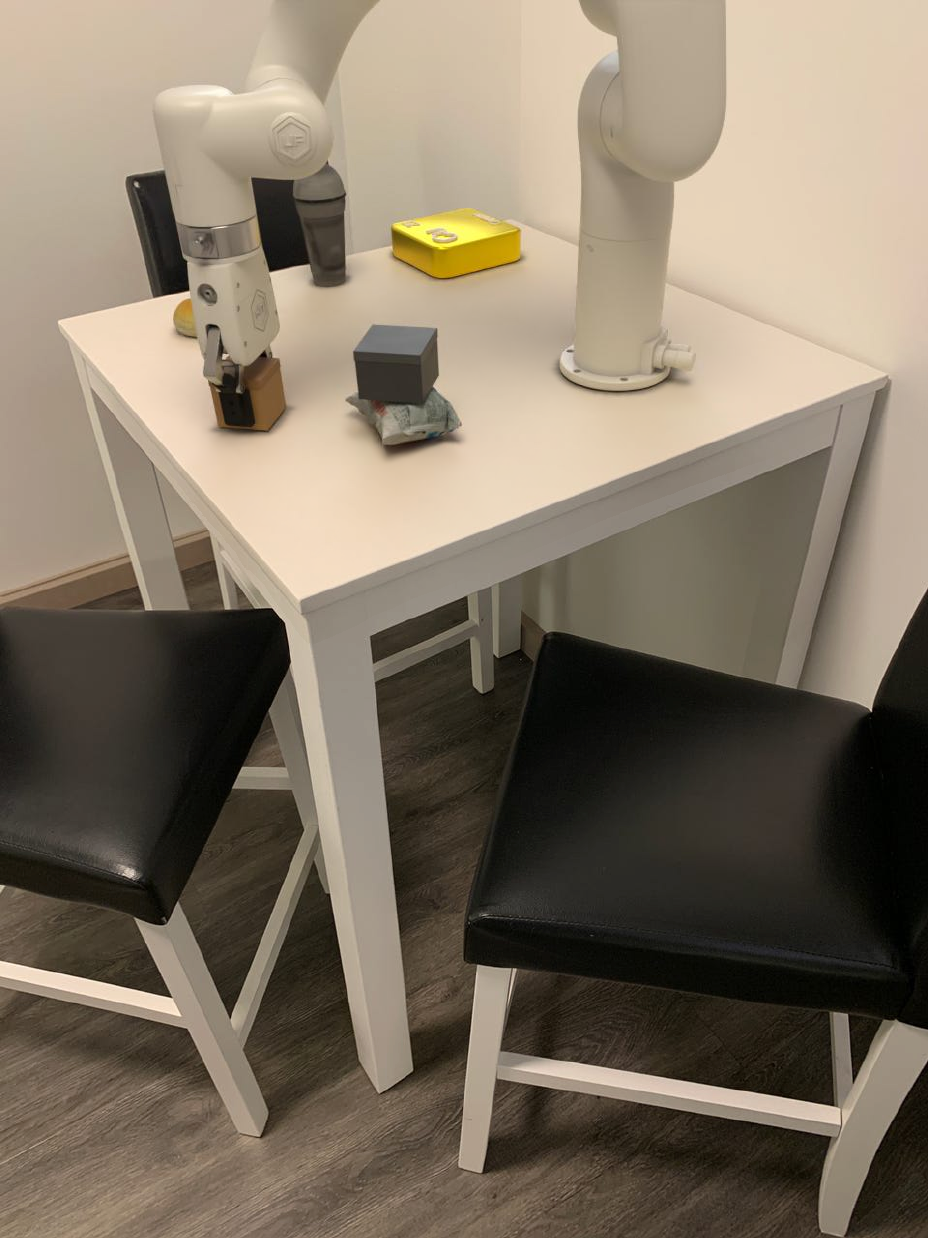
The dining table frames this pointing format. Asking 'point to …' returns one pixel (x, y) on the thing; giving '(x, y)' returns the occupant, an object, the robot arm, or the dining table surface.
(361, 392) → the charcoal box
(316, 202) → the beverage cup
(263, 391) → the kraft box
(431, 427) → the packaged food
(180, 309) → the bread roll
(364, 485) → the dining table surface
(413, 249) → the element tile
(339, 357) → the dining table surface
